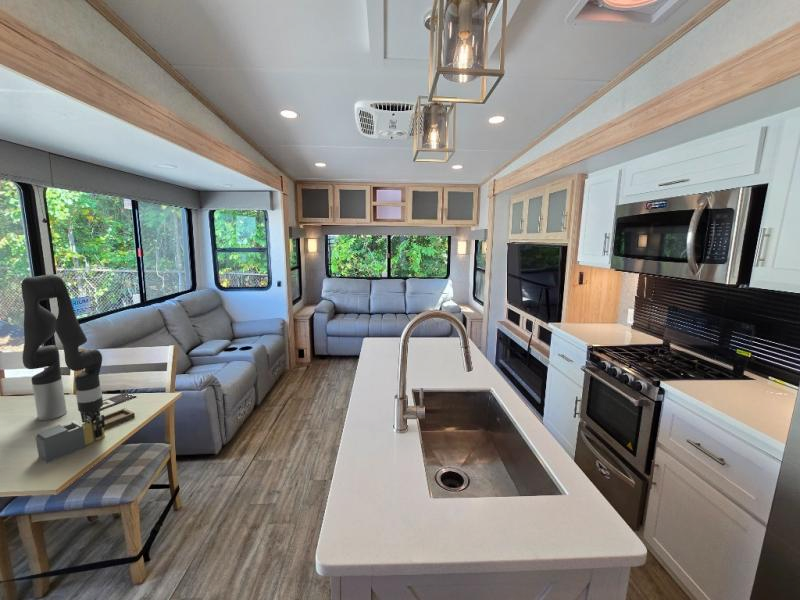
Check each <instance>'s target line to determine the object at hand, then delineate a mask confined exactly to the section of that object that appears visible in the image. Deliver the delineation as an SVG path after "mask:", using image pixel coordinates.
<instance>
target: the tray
mask: <svg viewBox="0 0 800 600" xmlns="http://www.w3.org/2000/svg"><path fill="white" fill-rule="evenodd" d="M135 417H136V416H135V413H134V412H133V411H131V410H129V409H127V408H124V407H123V408H121V409H118V410H115V411H113V412H110V413H108V414H104V423H105V427H104V431H105V430H107V429H109V428H112V427H114V426H117V425H119V424H121V423H124V422H126V421H129V420H132V419H134V418H135ZM80 424H81V425H85V422H84V423H80ZM76 427H77V426H76Z"/></svg>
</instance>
